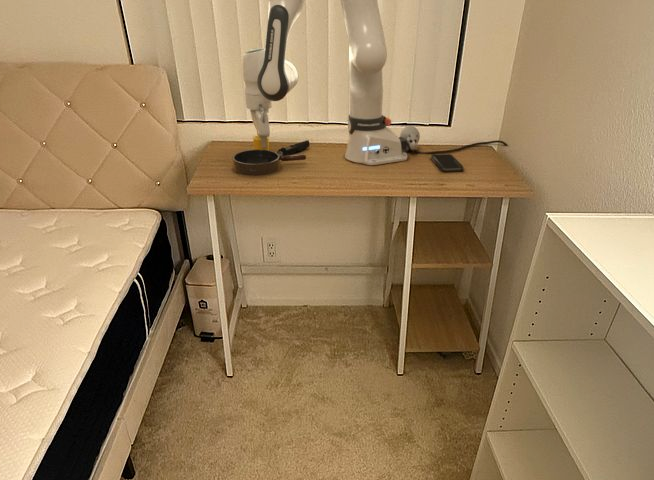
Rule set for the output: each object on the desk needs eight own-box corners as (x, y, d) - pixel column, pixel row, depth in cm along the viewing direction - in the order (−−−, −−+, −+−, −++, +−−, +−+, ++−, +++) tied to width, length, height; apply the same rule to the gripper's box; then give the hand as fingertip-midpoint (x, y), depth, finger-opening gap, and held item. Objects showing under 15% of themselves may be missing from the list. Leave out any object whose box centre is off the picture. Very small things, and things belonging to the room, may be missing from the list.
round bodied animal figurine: (402, 157, 200) (404, 133, 195) (397, 147, 210) (399, 123, 205) (422, 157, 201) (424, 132, 196) (416, 147, 210) (418, 123, 205)
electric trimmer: (312, 149, 207) (312, 140, 205) (283, 159, 197) (283, 150, 195) (304, 147, 208) (304, 138, 207) (275, 157, 198) (275, 147, 197)
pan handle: (305, 158, 192) (305, 153, 191) (306, 160, 190) (306, 155, 189) (279, 160, 190) (279, 155, 189) (280, 162, 188) (280, 156, 187)
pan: (276, 159, 196) (275, 148, 194) (283, 174, 184) (283, 162, 182) (231, 162, 193) (230, 151, 190) (236, 178, 181) (234, 165, 178)
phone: (442, 168, 188) (430, 154, 199) (442, 172, 188) (430, 157, 200) (464, 168, 189) (451, 154, 200) (464, 171, 189) (451, 157, 201)
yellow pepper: (268, 150, 204) (267, 132, 200) (270, 155, 200) (269, 136, 196) (253, 151, 203) (251, 133, 199) (255, 156, 199) (253, 137, 195)
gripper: (272, 108, 184) (275, 151, 192) (263, 94, 199) (267, 134, 208) (253, 109, 182) (257, 152, 191) (246, 95, 198) (250, 135, 206)
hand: (262, 143), depth 199 cm, fingers open, 8 cm apart
